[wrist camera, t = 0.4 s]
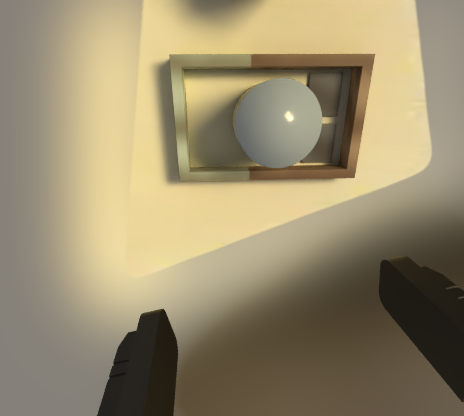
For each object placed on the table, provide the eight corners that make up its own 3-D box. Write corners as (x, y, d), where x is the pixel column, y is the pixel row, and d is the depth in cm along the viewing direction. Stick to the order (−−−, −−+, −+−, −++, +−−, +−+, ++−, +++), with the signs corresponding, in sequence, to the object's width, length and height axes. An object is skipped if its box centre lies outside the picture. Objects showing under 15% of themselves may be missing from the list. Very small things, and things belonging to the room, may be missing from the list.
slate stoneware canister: (232, 82, 33) (236, 78, 26) (304, 82, 34) (327, 77, 27) (232, 155, 37) (236, 169, 30) (298, 154, 37) (317, 167, 30)
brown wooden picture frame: (172, 57, 32) (169, 54, 30) (363, 57, 33) (374, 54, 30) (182, 176, 37) (179, 181, 35) (346, 173, 38) (354, 177, 36)
